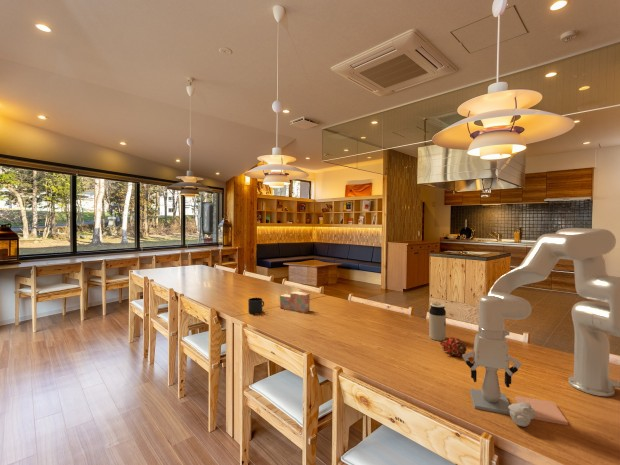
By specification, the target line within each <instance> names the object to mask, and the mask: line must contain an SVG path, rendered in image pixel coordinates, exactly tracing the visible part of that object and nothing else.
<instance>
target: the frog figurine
mask: <svg viewBox="0 0 620 465" xmlns="http://www.w3.org/2000/svg"><path fill="white" fill-rule="evenodd" d="M508 408H509V409H510V411H509V412H510V415H509V416H510V418H511V420H512V421H513V423H514V424H516V425H518V426H519V427H527V426H529V425H530V423H531V420H534V419H533V418H534V417H535V416H536V414H535V413H536V411H535V410H534V409H533V408H531V405H530V404H529V403H523V402H521V403H517V402H515V403H512V404H510V405H509V407H508Z"/></svg>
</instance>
